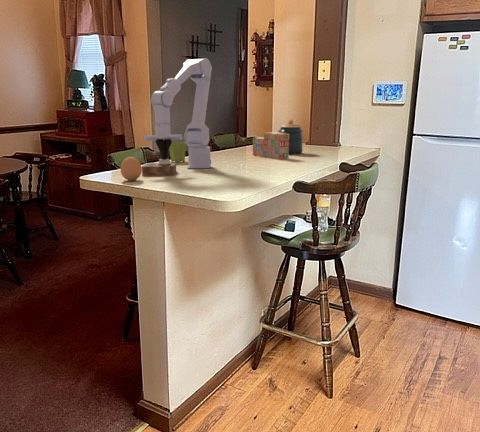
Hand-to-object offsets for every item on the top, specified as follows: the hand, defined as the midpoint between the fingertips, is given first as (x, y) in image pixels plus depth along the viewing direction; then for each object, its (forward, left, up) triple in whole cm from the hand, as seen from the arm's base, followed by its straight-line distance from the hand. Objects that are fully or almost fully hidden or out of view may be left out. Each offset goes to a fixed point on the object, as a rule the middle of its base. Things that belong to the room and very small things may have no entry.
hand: (164, 159), depth 183 cm
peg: (0, 0, -4) cm, 4 cm away
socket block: (+2, 0, -6) cm, 6 cm away
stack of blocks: (-47, -50, -6) cm, 69 cm away
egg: (+10, +16, -6) cm, 20 cm away
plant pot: (-2, -36, -6) cm, 36 cm away
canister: (-59, -66, -6) cm, 89 cm away
